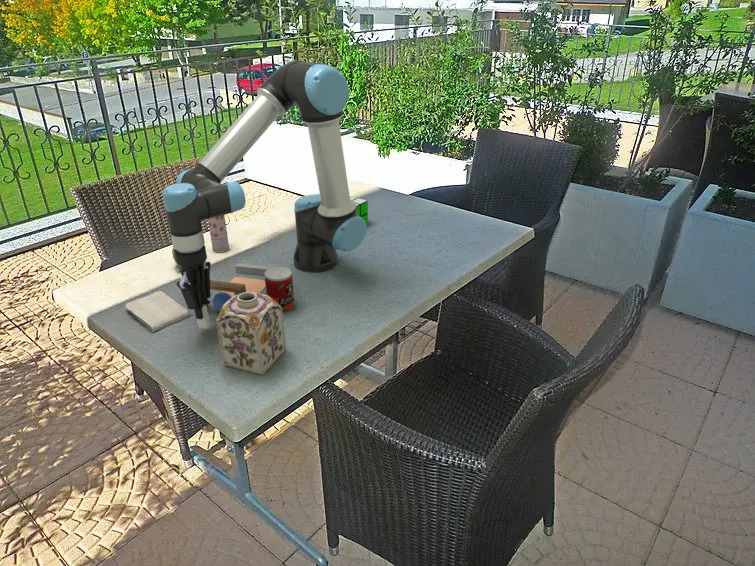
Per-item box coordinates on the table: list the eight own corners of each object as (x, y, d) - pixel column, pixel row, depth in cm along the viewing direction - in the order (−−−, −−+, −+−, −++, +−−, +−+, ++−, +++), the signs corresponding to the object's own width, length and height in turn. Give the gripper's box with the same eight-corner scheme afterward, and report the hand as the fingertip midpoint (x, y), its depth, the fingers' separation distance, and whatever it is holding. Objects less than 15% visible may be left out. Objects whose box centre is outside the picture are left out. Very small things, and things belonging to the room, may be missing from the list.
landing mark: (270, 281, 171) (270, 280, 171) (254, 300, 161) (254, 299, 160) (235, 277, 173) (234, 276, 173) (217, 295, 163) (217, 295, 163)
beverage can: (217, 254, 188) (211, 214, 180) (210, 249, 191) (203, 209, 184) (232, 249, 191) (226, 210, 184) (224, 244, 195) (218, 205, 187)
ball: (234, 289, 155) (226, 300, 150) (237, 304, 158) (229, 316, 153) (216, 287, 156) (207, 298, 151) (219, 302, 159) (211, 313, 154)
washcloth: (161, 296, 164) (159, 287, 163) (192, 317, 153) (191, 308, 152) (122, 311, 156) (120, 302, 155) (153, 335, 146) (151, 325, 144)
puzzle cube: (348, 219, 216) (347, 195, 211) (368, 224, 211) (368, 200, 206) (332, 227, 209) (331, 202, 204) (352, 233, 204) (352, 208, 199)
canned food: (283, 315, 153) (279, 281, 148) (262, 307, 157) (258, 274, 152) (300, 303, 159) (297, 270, 154) (279, 296, 163) (276, 263, 157)
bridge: (202, 306, 158) (197, 278, 153) (248, 312, 155) (245, 284, 150) (197, 311, 155) (192, 283, 151) (244, 317, 152) (240, 289, 148)
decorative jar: (222, 365, 133) (211, 303, 124) (248, 340, 143) (239, 280, 134) (264, 376, 130) (255, 313, 121) (288, 349, 139) (282, 289, 130)
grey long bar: (279, 274, 175) (278, 267, 174) (276, 277, 173) (275, 270, 172) (239, 269, 178) (238, 263, 176) (236, 272, 176) (235, 265, 175)
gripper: (189, 234, 140) (203, 312, 151) (160, 256, 129) (178, 338, 140) (215, 237, 138) (228, 315, 150) (189, 259, 127) (204, 341, 139)
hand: (204, 326), depth 145 cm, fingers closed
